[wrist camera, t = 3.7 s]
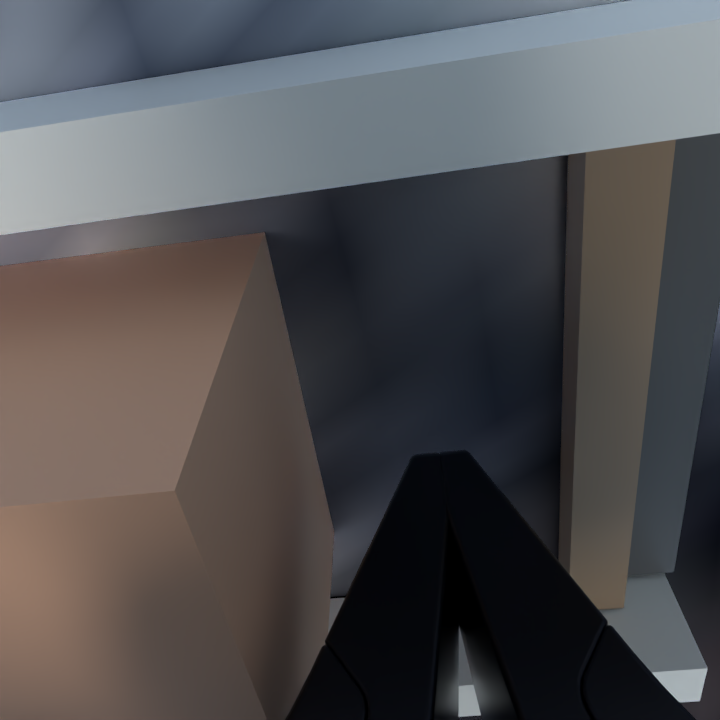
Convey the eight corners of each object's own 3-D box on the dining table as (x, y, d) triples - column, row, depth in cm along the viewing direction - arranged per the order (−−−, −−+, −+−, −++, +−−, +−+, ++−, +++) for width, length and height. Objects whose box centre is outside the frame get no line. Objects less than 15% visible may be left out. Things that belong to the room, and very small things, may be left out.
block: (334, 530, 12) (315, 840, 8) (30, 557, 13) (-133, 860, 9) (264, 230, 9) (174, 490, 5) (-138, 283, 10) (-530, 556, 5)
